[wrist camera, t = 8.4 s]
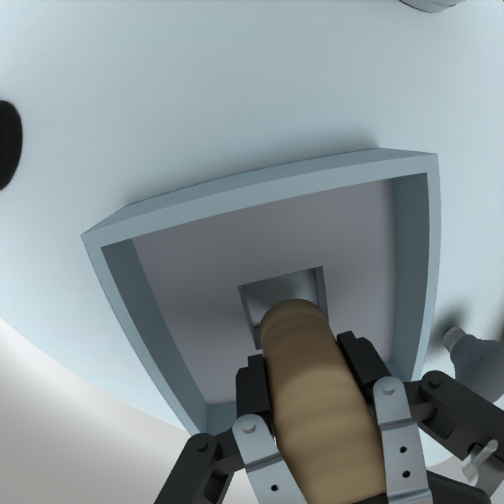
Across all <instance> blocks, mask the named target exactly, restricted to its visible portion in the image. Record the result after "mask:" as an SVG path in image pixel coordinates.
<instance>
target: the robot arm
mask: <svg viewBox="0 0 504 504" xmlns="http://www.w3.org/2000/svg"><path fill="white" fill-rule="evenodd" d="M402 1H403V2H405V3H407V4H409V5H411V6H413V7H415V8H418V9H421V10H424V11H428V12H440V11H442V10H444V9H446V8H448V7H452V6H455V5H456V4H458V3H460V2H463V1H465V0H402ZM337 342H338V345H339V347H340V349H341V351H342V353H343V355H344V357H345V359H346V361H347V363H348V365H349V367H350V369H351V371H352V373H353V375H354V377H355V380H356V382H357V384H358V386H359V388H360V390H361V392H362V394H363V397H364V399H365V401H366V403H367V405H368V407H369V409H370V412H371V414H372V416H373V418H374V420H375V423H376V427H377V431H378V436H379V442H380V448H381V454H382V461H383V469H384V478H385V488H386V489H385V491H384V492H383V493H381V494H378V495H376V496H373V497H370V498H367V499H365V500H362V501H359V502H356V503H352V504H491V500H490V497H491V496H492V494H493V493H494V492H495V491H496V489H497V488H498V487H499V485H500V484H501V482H502V481H503V480H504V411H503V410H501V409H500V408H498V407H497V406H495V405H494V404H492V403H491V402H489V401H487V400H486V399H484V398H483V397H481V396H480V395H478V394H476V393H475V392H473V391H472V390H470V389H469V388H467V387H466V386H464V385H462V384H461V383H459V382H458V381H456V380H455V379H453V378H451V377H450V376H448V375H447V374H445V373H444V372H442V371H438V370H433V371H429V372H427V373H426V374H424V376H423V377H422V379H421V380H418V381H411V382H403V381H401V380H400V379H398V378H396V377H393V376H392V375H391V373H390V372H389V370H388V368H387V367H386V365H385V364H384V362H383V360H382V359H381V357H380V355H379V354H378V352H377V351H376V350H375V348H374V346H373V344H372V343H371V341H369V340H368V339H366V338H364V337H360V338H357V339H356V337H355V335H354V334H353V332H352V331H351V330H349V331H346V332H343V333H339V334H337ZM235 380H236V411H237V418H236V421H235V422H234V424H233V426H232V427H231V428H230V429H228V430H227V431H225V432H222V433H220V434H217V435H215V436H213V435H211V434H209V433H198V434H195V435H193V436H192V437H190V438H189V439H188V441H187V443H186V444H185V447H184V449H183V450H182V452H181V454H180V456H179V458H178V460H177V462H176V464H175V465H174V467H173V469H172V471H171V473H170V475H169V477H168V479H167V481H166V482H165V484H164V486H163V488H162V490H161V491H160V493H159V495H158V497H157V499H156V501H155V502H154V504H222V502H223V500H224V497H225V494H226V492H227V490H228V487H229V485H230V482H231V480H232V477H233V475H234V472H235V471H238V470H241V469H243V468H245V470H246V473H247V476H248V478H249V481H250V483H251V485H252V488H253V490H254V493H255V495H256V497H257V500H258V502H259V504H307V502H306V500H305V498H304V496H303V495H302V493H301V491H300V489H299V487H298V486H297V484H296V482H295V480H294V478H293V476H292V474H291V472H290V471H289V469H288V467H287V465H286V463H285V461H284V459H283V457H282V455H281V454H280V452H279V450H278V448H277V446H276V444H275V440H274V437H275V432H274V425H273V415H272V408H271V402H270V395H269V388H268V382H267V375H266V369H265V362H264V357H263V354H262V353H261V354H256V355H251V356H248V367H243V368H239V370H238V372H237V374H236V376H235ZM418 427H419V428H420V429H422V430H423V431H424V432H425V433H427V434H428V435H429V436H431V437H432V438H433V439H434V440H436V441H437V442H438V443H439V444H441V445H442V446H443V447H445V448H446V449H447V450H448V451H450V452H451V453H452V454H454V455H455V456H456V457H458V458H459V459H460V460H462V461H463V463H462V471H463V473H464V475H465V476H466V477H467V479H468V482H469V485H467V484H464V483H461V482H458V481H455V480H452V479H450V478H447V477H444V476H442V475H439V474H436V473H434V472H431V471H428V470H426V467H425V461H424V455H423V450H422V444H421V439H420V434H419V430H418Z"/></svg>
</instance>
